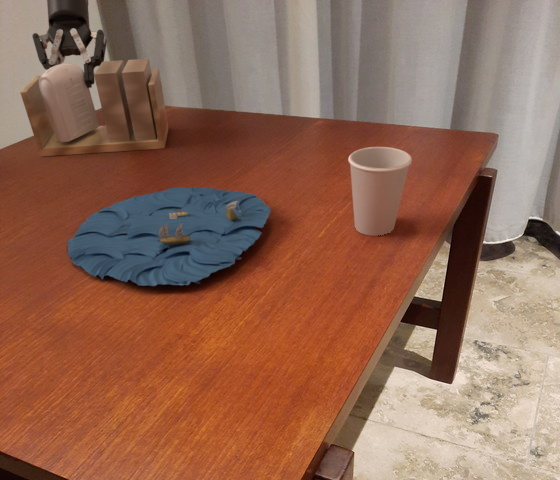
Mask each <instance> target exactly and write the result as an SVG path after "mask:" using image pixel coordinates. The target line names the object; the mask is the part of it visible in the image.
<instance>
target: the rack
mask: <svg viewBox="0 0 560 480" xmlns="http://www.w3.org/2000/svg"><path fill="white" fill-rule="evenodd" d="M97 67H98V68H97V69H96V71H94V81H95V82H94V83H95V86H96V90H97V95H98V98H99V102H100V107H101V112H102V115H103V120H104V124H105V125H99V127H98V128H96V129H94V130H92V131H90V132H88V133H86V134H84V135H82V136H80V137H78V138H75V139H73V140H71V141H69V142H61V141H59V140H58V139H57V138H56V136H55V133H54V130H53V127H52V124H51V121H50V118H49V115H48V112H47V109H46V106H45V103H44V100H43V97H42V94H41V91H40V88H39V79H40V77H41V76H42V75H36V76H35V77H34V78H33V79H32V80H30V81H29V83H28V84H27V85H26V86H25V87H24V88H22V90H21V91H20V93H19V94H20V96H21V100H22V103H23V105H24V109H25V112H26V116H27V119H28V121H29V124H30V128H31V131H32V134H33V137H34V140H35V144H36V147H37V150H38V153H39V156H40V157H42V158H43V157H55V156H56V157H57V156H73V155H85V154H100V153H101V154H102V153H117V152H131V151H144V150H145V151H146V150H147V151H148V150H163V149H165V148H166V143H167V138H168V135H169V122H168V117H167V110H166V103H165V97H164V92H163V85H162V79H161V73H160V68H154V69H153V71H152V69H151V62H150V58H140V59H139V58H138V59H128V60H127V61H126V63H124V60H123V59H122V60H120V59H119V60H106V61H105V60H104V61H103V62H102V63H101V65H100V66H97Z"/></svg>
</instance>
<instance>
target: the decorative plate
mask: <svg viewBox="0 0 560 480" xmlns="http://www.w3.org/2000/svg"><path fill="white" fill-rule="evenodd" d="M271 210H272V209H271V206H268V205H267V204H266V203H265V202H264V201H263V199H261V198H260V197H258V196H256V195H255V194H254V193H246V192H245V191H240V190H239V191H236V190H227V189H218V188H215V187H213V188H211V187H200V186H195V187H194V186H192V187H189V186H185V187H181V186H180V187H179V186H176V187H175V186H174V187H170V188H167V189H165V190H157V191H155V192H152V193H146V194H143V195H135V196H133V197H129V198H128V199H123V200H122V201H116V202H114V203H113V204H111V205H110V206H106V207H102V208H101V209H100V210H99V211H95V212H94V213H91V214H90V215H89V216H88V217H87V219H86V220H85V221H84V222H83V223H81V224H80V225H79V227H78V230H76V231H75V232H74V237H71V238H69V239H68V241H67V246H68V248H67V253H68V257H69V258H71V260H70V262H72V264H74V265H75V266H77V267H81V268H82V270H84V271H85V272H86V273H88V274H89V275H90V276H93V277H94V278H95V277H97V276H98V277H100V279H101V280H104V277H107V276H109V277H110V278H114V279H116V280H119V281H121V282H125V283H128V281H130V282H132V283H134V284H136V285H137V286H142V287H143V286H144V287H145V286H149V287H156V286H157V285H164V286H165V285H170V286H171V285H172V286H179V287H180V286H181V287H183V286H184V285H185V286H189V285H190V284H191V283H195V284H198V285H199V284H201V282H200V281H201V280H202V279H203V280H204V279H205V278H208V277H210V275H211V274H212V273H216V272H218V271H220V270H223V269H226V268H230V267H231V266H232V265H235V264H236V260H237V261H238V260H242V257H240V255H242V253H243V252H247V250H248V249H249V248H250V247H252V246H254V244H255V243H256V241H257V240H258V239H259V238H260V236H261V235H262V233H263V232H261V231H260V230H258V229H257V228H260V229H262V228H264V226H265V225H266V224H267V220H268V218H270V214H271Z"/></svg>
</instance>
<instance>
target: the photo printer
mask: <svg viewBox="0 0 560 480" xmlns="http://www.w3.org/2000/svg"><path fill="white" fill-rule="evenodd" d="M40 76H41V77H40V79H39V88H40V91H41V94H42V97H43V100H44V103H45V106H46V109H47V112H48V115H49V118H50V121H51V124H52V127H53V130H54V133H55V136H56V138H57V139H58V140H59V141H61V142H69V141H71V140H73V139H75V138H78V137H80V136H82V135H84V134H86V133H88V132H90V131H92V130H94V129H96V128H98V127H99V126H100V123H99V118H98V116H97V112H96V109H95V105H94V102H93V101H94V100H93V97H92V94H91V91H90V88H88V87H87V85H86V83H85V76H84V69H83V68H82V67H81V66H80V65H78V64H74V63H62V64H59V65H55V66H53V67H51V68H49V69H48V70H45V71H44V72H43V73H42V74H41V75H40Z"/></svg>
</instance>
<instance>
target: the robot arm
mask: <svg viewBox="0 0 560 480" xmlns="http://www.w3.org/2000/svg"><path fill="white" fill-rule="evenodd" d="M46 4H47V5H46V6H47V19H48V22H47V23H48V29H47V31H46V33H45V34H41V35H39V33H37V32H34V33H33V34H32V40H33V44H34V48H35V50H36V54H37V57H38V61H39V62H40V64H41V66H42V68H43V69H44V70H45V71H47V70H48V69H49V68H51V67H53V66H55V65H59V64H64V62H65V59H66V57H70V56H81V57H82V59H83V60H84V63H83V72H84V76H85V83H86V85H87V87H88V88H89V89H90V88H91V89H92V88H93V87H92V86H93V85H95V83H96V82H95V77H94V73H95V68H96V67H99V66H100V65H101V63H102V62H103V61H105V56H106V50H107V43H108V40H107V37H106V35H105V33H104V31H103V29H98V30H97V31H92V30H91V29H90V28H91V27H90V13H89V0H46ZM92 41H93V42H94V50H93V55H91V56H90V55H89V52H88V51H87V48H88V47H89V45H90V44H91V42H92ZM49 43H50V44H52V46H51V49H50V55H49V57H48V54H47V51H46V50H47V49H48V44H49Z"/></svg>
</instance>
